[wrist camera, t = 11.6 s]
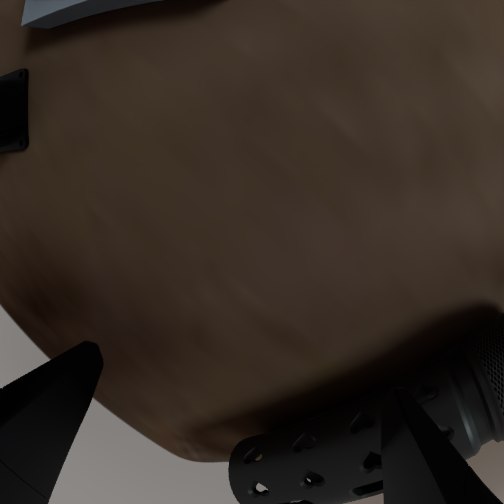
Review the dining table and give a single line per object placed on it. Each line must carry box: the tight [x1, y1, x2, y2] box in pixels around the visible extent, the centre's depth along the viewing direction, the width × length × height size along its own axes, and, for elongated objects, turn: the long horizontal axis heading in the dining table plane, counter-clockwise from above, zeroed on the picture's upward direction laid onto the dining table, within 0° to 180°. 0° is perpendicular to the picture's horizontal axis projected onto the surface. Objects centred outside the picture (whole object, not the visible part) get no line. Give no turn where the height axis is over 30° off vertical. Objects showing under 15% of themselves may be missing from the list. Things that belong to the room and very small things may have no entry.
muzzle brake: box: [228, 313, 504, 504], centre depth 20 cm, size 10×28×10 cm, turn 130°
